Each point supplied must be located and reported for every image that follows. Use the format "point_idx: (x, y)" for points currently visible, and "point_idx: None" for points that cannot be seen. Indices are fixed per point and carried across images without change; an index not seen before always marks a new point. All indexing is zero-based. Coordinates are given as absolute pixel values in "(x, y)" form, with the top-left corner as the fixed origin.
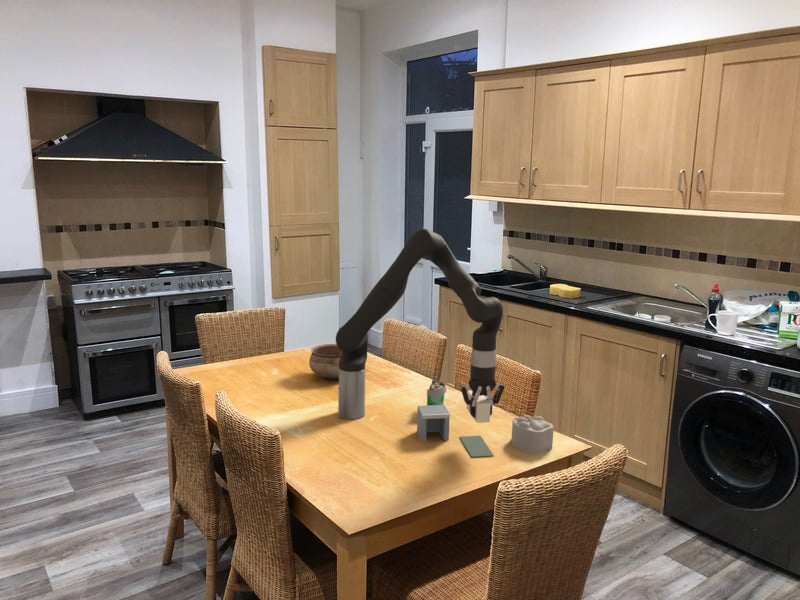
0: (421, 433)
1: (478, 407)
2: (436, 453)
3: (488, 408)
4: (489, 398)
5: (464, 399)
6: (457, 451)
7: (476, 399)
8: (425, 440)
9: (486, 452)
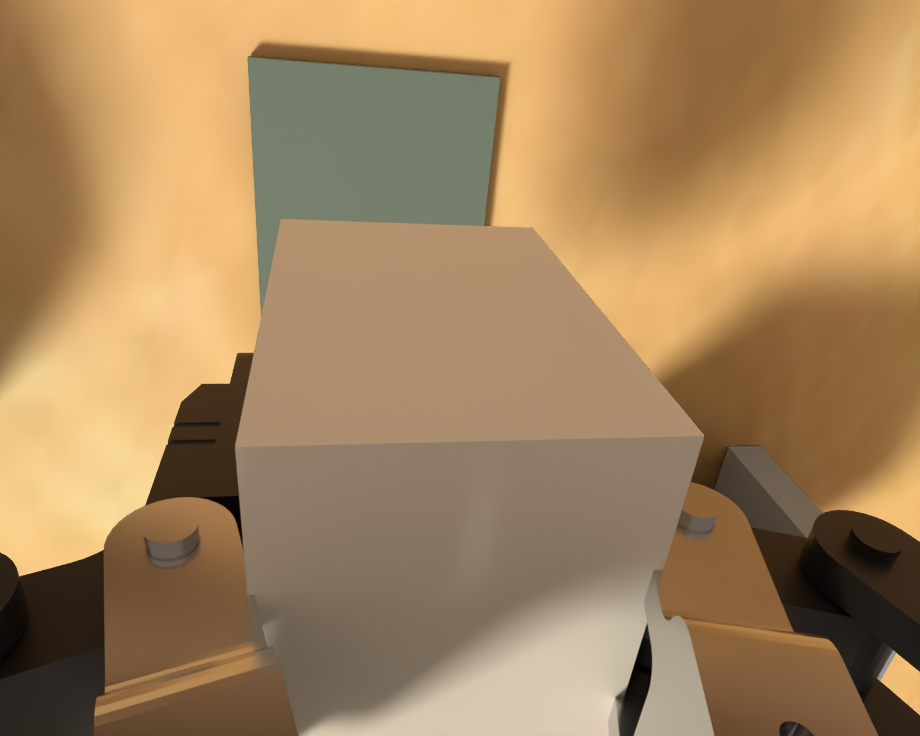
0: (795, 487)
1: (627, 371)
2: (762, 225)
3: (311, 352)
4: (231, 672)
5: (881, 690)
6: (572, 238)
7: (725, 622)
8: (734, 448)
9: (311, 145)
